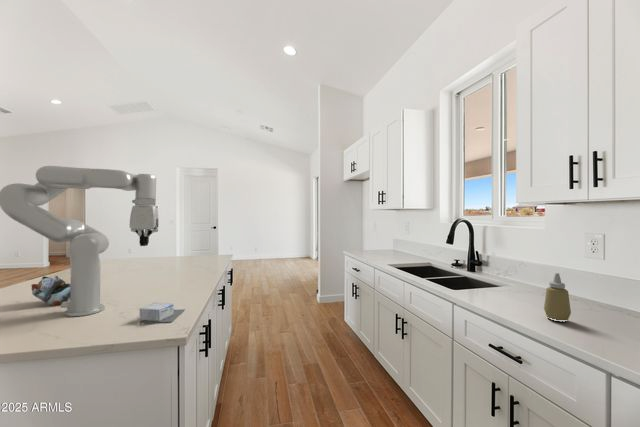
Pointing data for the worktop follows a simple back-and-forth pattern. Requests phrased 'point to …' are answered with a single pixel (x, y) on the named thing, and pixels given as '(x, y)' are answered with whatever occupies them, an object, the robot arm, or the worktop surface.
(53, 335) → the worktop surface
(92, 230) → the robot arm
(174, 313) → the mat
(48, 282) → the blue crumpled lump
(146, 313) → the medicine box
